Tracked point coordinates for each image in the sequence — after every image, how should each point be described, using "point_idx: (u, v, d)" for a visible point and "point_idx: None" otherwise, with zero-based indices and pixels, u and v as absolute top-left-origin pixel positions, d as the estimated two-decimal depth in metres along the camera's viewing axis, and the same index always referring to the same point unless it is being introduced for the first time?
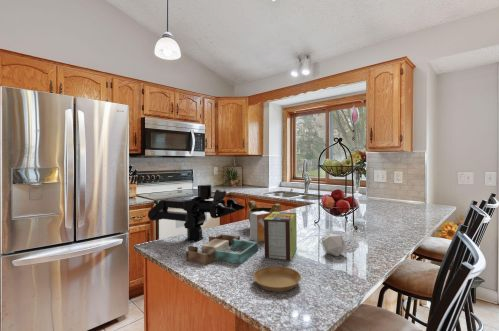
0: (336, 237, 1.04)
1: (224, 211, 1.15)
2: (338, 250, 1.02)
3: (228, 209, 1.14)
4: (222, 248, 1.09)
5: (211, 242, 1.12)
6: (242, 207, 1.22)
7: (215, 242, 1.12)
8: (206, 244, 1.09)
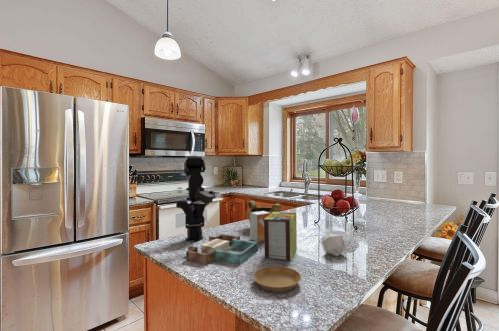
0: (336, 237, 1.04)
1: (187, 211, 1.11)
2: (338, 250, 1.02)
3: (190, 216, 1.11)
4: (221, 249, 1.09)
5: (211, 242, 1.12)
6: (199, 217, 1.18)
7: (215, 242, 1.12)
8: (206, 244, 1.09)
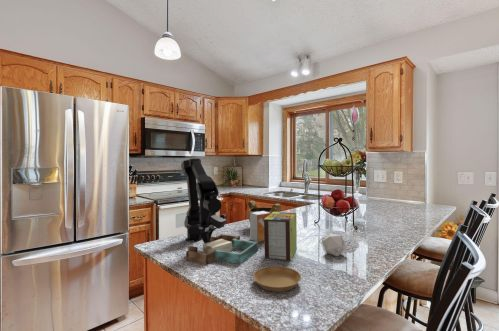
0: (336, 237, 1.04)
1: (203, 234, 1.12)
2: (338, 250, 1.02)
3: (206, 239, 1.11)
4: (222, 249, 1.08)
5: (214, 242, 1.12)
6: None
7: (218, 242, 1.12)
8: (207, 243, 1.10)
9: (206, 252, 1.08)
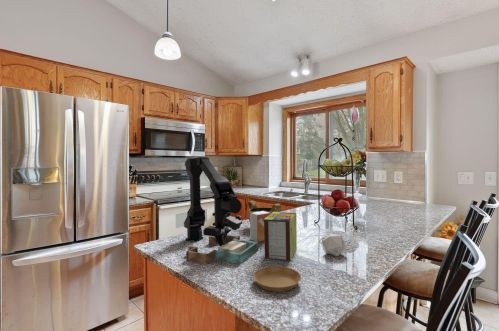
0: (336, 237, 1.04)
1: (218, 236, 1.08)
2: (338, 250, 1.02)
3: (221, 241, 1.08)
4: (239, 251, 1.06)
5: (228, 244, 1.09)
6: (221, 245, 1.10)
7: (232, 244, 1.09)
8: (223, 246, 1.07)
9: None
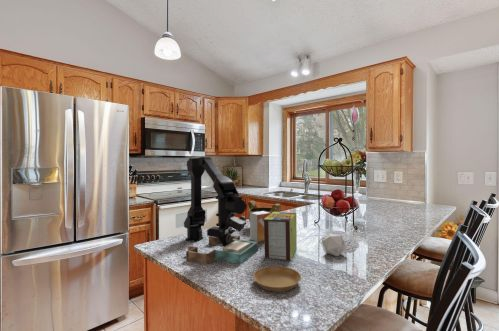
0: (336, 237, 1.04)
1: (222, 237, 1.08)
2: (338, 250, 1.02)
3: (225, 242, 1.07)
4: None
5: (231, 244, 1.08)
6: (225, 245, 1.09)
7: (236, 244, 1.09)
8: (227, 246, 1.06)
9: None
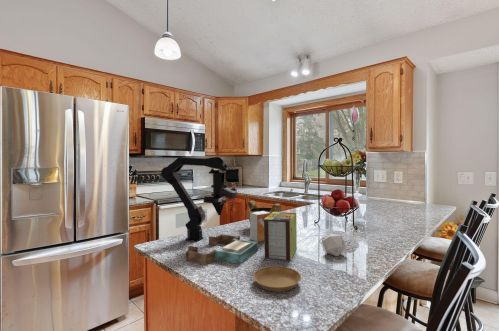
0: (336, 237, 1.04)
1: (216, 205, 1.26)
2: (338, 250, 1.02)
3: (219, 209, 1.26)
4: None
5: (232, 244, 1.08)
6: None
7: (236, 244, 1.09)
8: (227, 246, 1.06)
9: None
